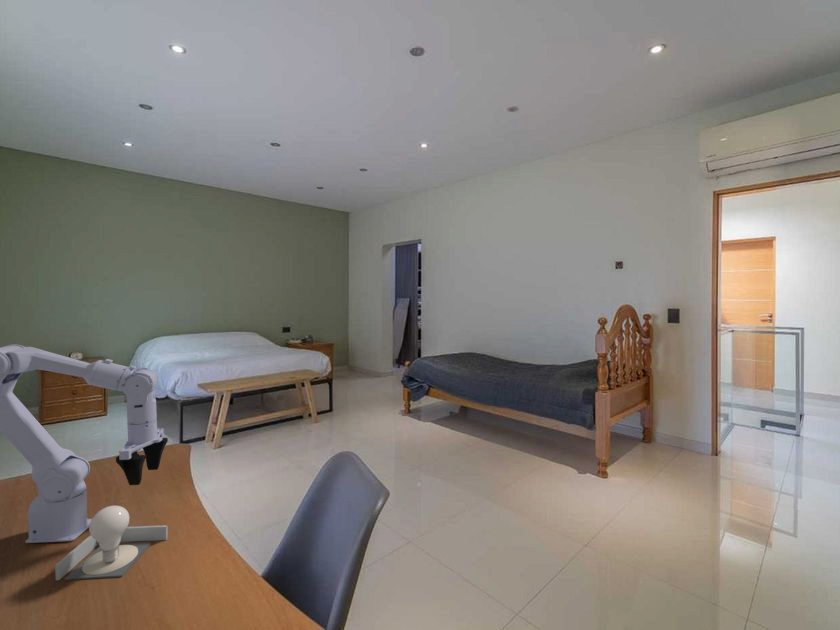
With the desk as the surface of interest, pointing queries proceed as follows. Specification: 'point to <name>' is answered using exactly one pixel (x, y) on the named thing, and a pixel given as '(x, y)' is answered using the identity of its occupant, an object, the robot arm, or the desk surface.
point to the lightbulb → (109, 530)
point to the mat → (109, 563)
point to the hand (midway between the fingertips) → (144, 476)
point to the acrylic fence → (90, 543)
